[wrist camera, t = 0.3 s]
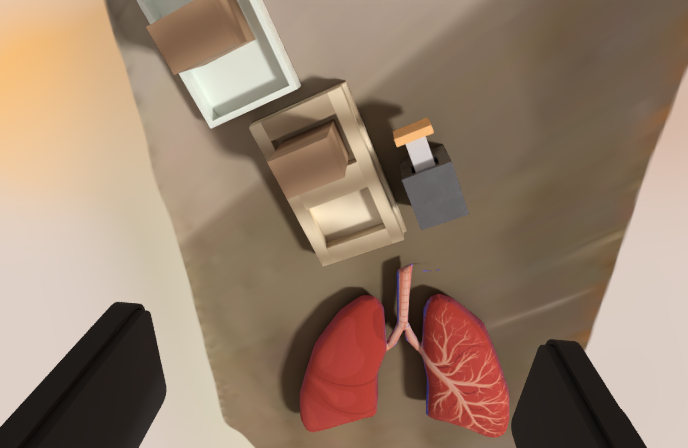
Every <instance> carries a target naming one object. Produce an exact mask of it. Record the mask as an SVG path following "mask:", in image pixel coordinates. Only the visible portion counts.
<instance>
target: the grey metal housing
mask: <svg viewBox="0 0 688 448" xmlns="http://www.w3.org/2000/svg"><path fill="white" fill-rule="evenodd" d="M430 151H431V154H432V156H433V159H434V162H435V166H432V167H429V168H426V169H424V170H421V171H418V172H416V171H415V168H414V166H413V163H412V160H411V158H410V157H409V158H406V159H403V160H401V161H399V166H400V172H401V179H402V182H403V185H404V187H405V190H406V192H407V195H408V197H409V200H410V202H411V205H412V208H413V210H414V213H415V215H416V218H417V220H418V223H419V225H420V228H421V230H423V229H426V228H429V227H432V226H435V225H438V224H441V223H444V222H447V221H450V220H453V219H456V218H459V217H462V216H465V215H468V214H469V213H468V210H467V207H466V203H465V200H464V197H463V194H462V191H461V188H460V185H459V182H458V179H457V176H456V173H455V170H454V167H453V164H452V161H451V159H450V157H449V155H448V153H447V151H446V149H445V147H444V145H440V146H437V147H435V148H432V149H430Z"/></svg>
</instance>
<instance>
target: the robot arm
mask: <svg viewBox="0 0 688 448" xmlns="http://www.w3.org/2000/svg"><path fill="white" fill-rule="evenodd" d="M165 396H166V383H165V378H164V374H163V369H162V364H161V360H160V356H159V350H158V346H157V341H156V336H155V331H154V327H153V322H152V318H151V314H150V312H149V311H145V309H144V307H143V305H142V304H137V303H125V302H116V303H114V304H113V305H111V306H110V307H109V308H108V310H107V311H106V312H105V313H104V314H103V315H102V316H101V317H100V318H99V319H98V321H97V322H96V323H95V324H94V325H93V326H92V327H91V328H90V329H89V330H88V332H87V333H86V334H85V335H84V336H83V337H82V338H81V339H80V340H79V341H78V342H77V344H76V345H75V346H74V347H73V348H72V349H71V350H70V351H69V352H68V354H66V356H65V357H64V358H63V359H62V360H61V361H60V362H59V363H58V364H57V365H56V367H55V368H54V369H53V370H52V371H51V372H50V373H49V374H48V376H47V377H46V378H45V379H44V380H43V381H42V382H41V383H40V384H39V385H38V386H37V387H36V389H35V390H34V391H33V392H32V393H31V394H30V395H29V396H28V397H27V398H26V400H25V401H24V402H23V403H22V404H21V405H20V406H19V407H18V408H17V409H16V411H15V412H14V413H13V414H12V415H11V416H10V417H9V418H8V419H7V420H6V421H5V423H4V424H3V425H2V426H1V427H0V448H139V446H140V444H141V442H142V440H143V438H144V437H145V435H146V433H147V431H148V429H149V428H150V426H151V424H152V422H153V420H154V419H155V417H156V415H157V413H158V411H159V409H160V408H161V405H162V404H163V402H164V399H165ZM511 429H512V435H513V438H514V441H515V444H516V447H517V448H647V447H646V445H645V444H644V442H643V441H642V439H641V437H640V436H639V434H638V433H637V431H636V430H635V428H634V427H633V425H632V423H631V422H630V420H629V419H628V417H627V416H626V414H625V413H624V412H623V410H622V409H621V408H620V407H619V406H618V404H617V402H616V401H615V399H614V398H613V396H612V395H611V393H610V391H609V390H608V388H607V387H606V385H605V383H604V382H603V380H602V379H601V377H600V375H599V374H598V372H597V371H596V369H595V367H594V366H593V364H592V363H591V361H590V360H589V358H588V356H587V355H586V353H585V352H584V350H583V348H582V347H581V346H580V344H579V343H577V342H576V341H565V340H554V339H550V340H548V341H547V343H546V344H545V345H541V346H539V348H538V350H537V353H536V356H535V358H534V361H533V364H532V367H531V369H530V372H529V375H528V377H527V380H526V383H525V385H524V388H523V391H522V394H521V396H520V399H519V402H518V404H517V407H516V410H515V412H514V415H513V418H512V423H511Z"/></svg>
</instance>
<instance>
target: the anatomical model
mask: <svg viewBox="0 0 688 448" xmlns="http://www.w3.org/2000/svg"><path fill="white" fill-rule="evenodd" d="M412 265H413V264H410V265H407V266H404V267H403V268H400V269H399V270H398V271H397V325H396V326H395V328H394V330H393V332H392V333H391V335H390V337H389V338H388V340H386V329H385V318H384V307H383V305H382V304H381V302H380V301H379V300H378V299H377V298H376V297H374V296H371V295H363V296H360V297H358V298H357V299H355V300H354V301H352V302H351V303H349V304H347V305H346V306H344V307H343V308H342V309H341V310H340V311H339V312H338V313H337V314H336V316H335V317H334V318H333V320H332V321H331V322H330V323H329V325H328V326H327V327H326V329H325V330H324V331H323V333H322V334H321V335H320V337H319V338H318V339H317V341H316V343H315V345H314V348H313V351H312V354H311V357H310V360H309V363H308V366H307V369H306V373H305V376H304V380H303V383H302V387H301V390H300V415H301V420H302V422H303V424H304V426H305V428H306V429H307V430H308V431H310V432H316V431H321V430H325V429H329V428H332V427H335V426H338V425H342V424H345V423H349V422H354V421H357V420H360V419H362V418H368V417H372V416H373V415H375V414H376V410H377V401H378V370H379V368H380V365H381V363H382V360H383V358H384V355H385V353H386V351H388V350H389V349H390V348H392V347H393V346H395V345H396V343H397V341H398V339H399V337H400V335H401V333H402V332H403V330H405V338H406V340H407V341H408V342H409V343H410V344H411V345H412V346H413V347H414V348H415V349H416V350H417V351H418V352H419V353H420V354H421V355H422V357H423V362H424V367H425V371H426V376H427V389H426V391H427V392H426V414H427V415H428V416H429V417H431V418H433V419H436V420H440V421H446V422H449V423H452V424H455V425H458V426H462V427H465V428H467V429H470V430H472V431H475V432H477V433H479V434H482V435H484V436H487V437H499V436H501V435H503V434H504V433H505V431H506V430H507V426H508V422H509V391H508V386H507V384H506V381H505V378H504V374H503V371H502V368H501V365H500V362H499V359H498V356H497V354H496V351H495V349H494V346H493V344H492V342H491V339H490V337H489V334H488V332H487V330H486V327H485V325H484V323H483V322H482V321H481V320H480V319H479V318H478V317H477V316H475V315H474V314H473V313H471V312H470V311H469V310H468V309H466V308H465V307H464V306H462V305H461V304H460V303H459V302H457V301H456V300H455V299H453V298H451V297H450V296H446V295H443V294H435V295H433V296H431V297H429V298H428V300H427V302H426V304H425V306H424V313H423V337H422V342H421V343H419V341H418V339H417V338H416V336H415V334H414V333H413V331H412V329H411V327H410V325H409V323H408V308H409V293H410V284H411V274H412ZM439 270H440V269H439ZM431 271H433V270H431ZM437 271H438V270H437Z"/></svg>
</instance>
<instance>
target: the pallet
mask: <svg viewBox="0 0 688 448" xmlns="http://www.w3.org/2000/svg"><path fill="white" fill-rule="evenodd" d="M333 119H334V120H335V123H336V125H337V127H338V129H339V132H340V134H341V136H342V138H343V141H344V143H345V145H346V148H347V150H348V152H349V157H348V163H347V168H346V174H345V178H342V179H339V180H337V181H334V182H332V183H329V184H326V185H324V186H321V187H319V188H316V189H313V190H311V191H308V192H306V193H303V194H300V195H298V196H295V197H293V198H290V199H287V200H288V202H289V204H290V206H291V208H292V209H293V211H294V213H295V215H296V217H297V219H298V221H299V222H300V224H301V226H302V228H303V230H304V232H305V234H306V236H307V237H308V239H309V241H310V243H311V245H312V247H313V249H314V250H315V252H316V254H317V256H318V258H319V260H320V262H321V263H322V265H323V266H326V265H329V264H332V263H335V262H338V261H341V260H344V259H347V258H350V257H353V256H356V255H359V254H362V253H365V252H368V251H371V250H374V249H377V248H380V247H383V246H386V245H389V244H392V243H395V242H398V241H401V240H404V234H403V233H404V232H407V231H406V226H405V223H404V221H403V219H402V216H401V214H400V211H399V209H398V206H397V204H396V201H395V199H394V197H393V194H392V192H391V189H390V187H389V184H388V182H387V179H386V177H385V175H384V172H383V170H382V167H381V165H380V162H379V160H378V158H377V155H376V153H375V150H374V148H373V145H372V143H371V140H370V138H369V136H368V133H367V131H366V128H365V126H364V123H363V121H362V118H361V116H360V114H359V111H358V109H357V106H356V104H355V101H354V99H353V97H352V94H351V92H350V89H349V87H348V84H347V82H346V81H345V82H343V83H340V84H338V85H336V86H334V87H331V88H329V89H327V90H325V91H322V92H320V93H318V94H316V95H313V96H311V97H309V98H307V99H305V100H302V101H300V102H298V103H296V104H293V105H291V106H289V107H287V108H284V109H282V110H280V111H278V112H276V113H273V114H271V115H269V116H267V117H264V118H262V119H260V120H258V121H255V122H253V123H252V124H251V125H250V127H249V129H250V131H251V133H252V135H253V137H254V139H255V141H256V142H257V144H258V146H259V148H260V150H261V152H262V154H263V155H264V157H265V159H266V161H267V162H268V161H269V159H270V158H271V156H272V155H273V154H274V152H275V151H276V149H277V148H278V147H279V145H280V144H281V142H282V141H283V140H286V139H288V138H290V137H293V136H295V135H297V134H300V133H302V132H304V131H307V130H309V129H311V128H314V127H316V126H318V125H321V124H323V123H325V122H328V121H330V120H333Z"/></svg>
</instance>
